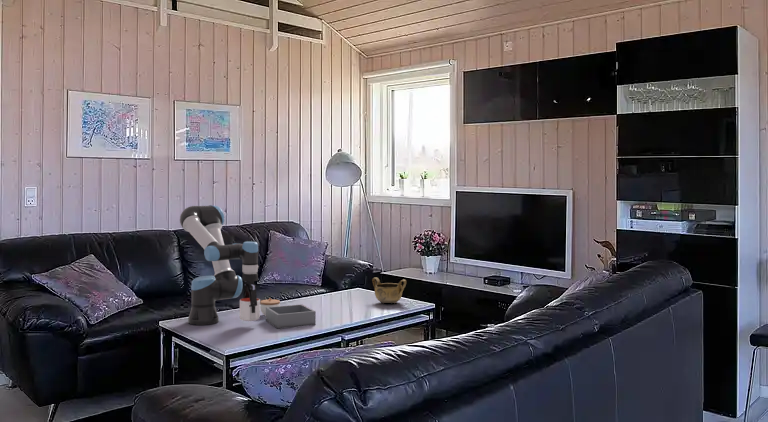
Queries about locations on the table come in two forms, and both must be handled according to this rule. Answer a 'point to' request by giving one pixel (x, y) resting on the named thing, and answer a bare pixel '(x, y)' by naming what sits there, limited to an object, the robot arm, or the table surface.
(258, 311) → the cup
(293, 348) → the table surface
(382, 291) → the ceramic bowl
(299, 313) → the bin
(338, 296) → the table surface
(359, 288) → the table surface
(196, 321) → the robot arm
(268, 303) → the lidded jar
